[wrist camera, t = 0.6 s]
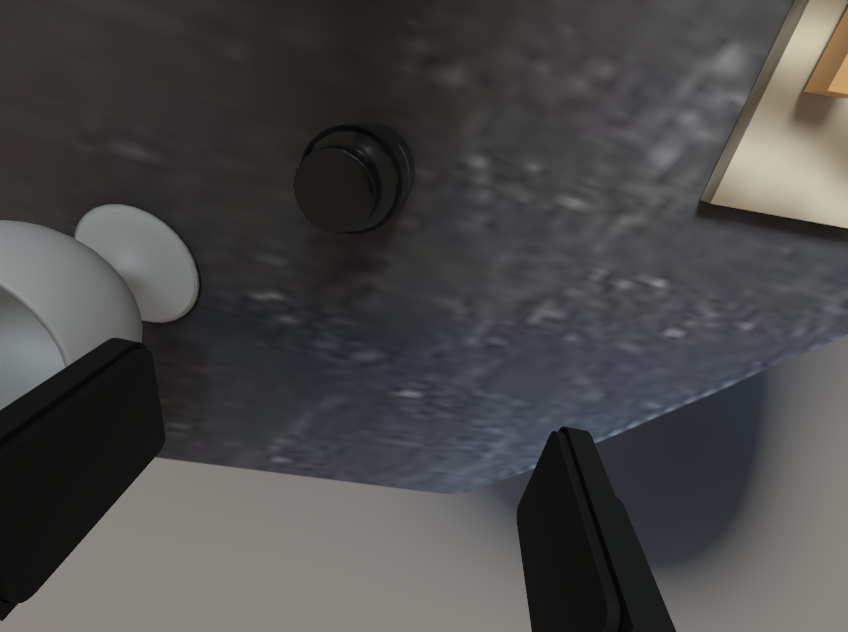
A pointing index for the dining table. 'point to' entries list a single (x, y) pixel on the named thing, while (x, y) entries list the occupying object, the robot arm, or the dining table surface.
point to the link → (833, 66)
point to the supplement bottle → (353, 177)
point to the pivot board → (790, 130)
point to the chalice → (85, 289)
